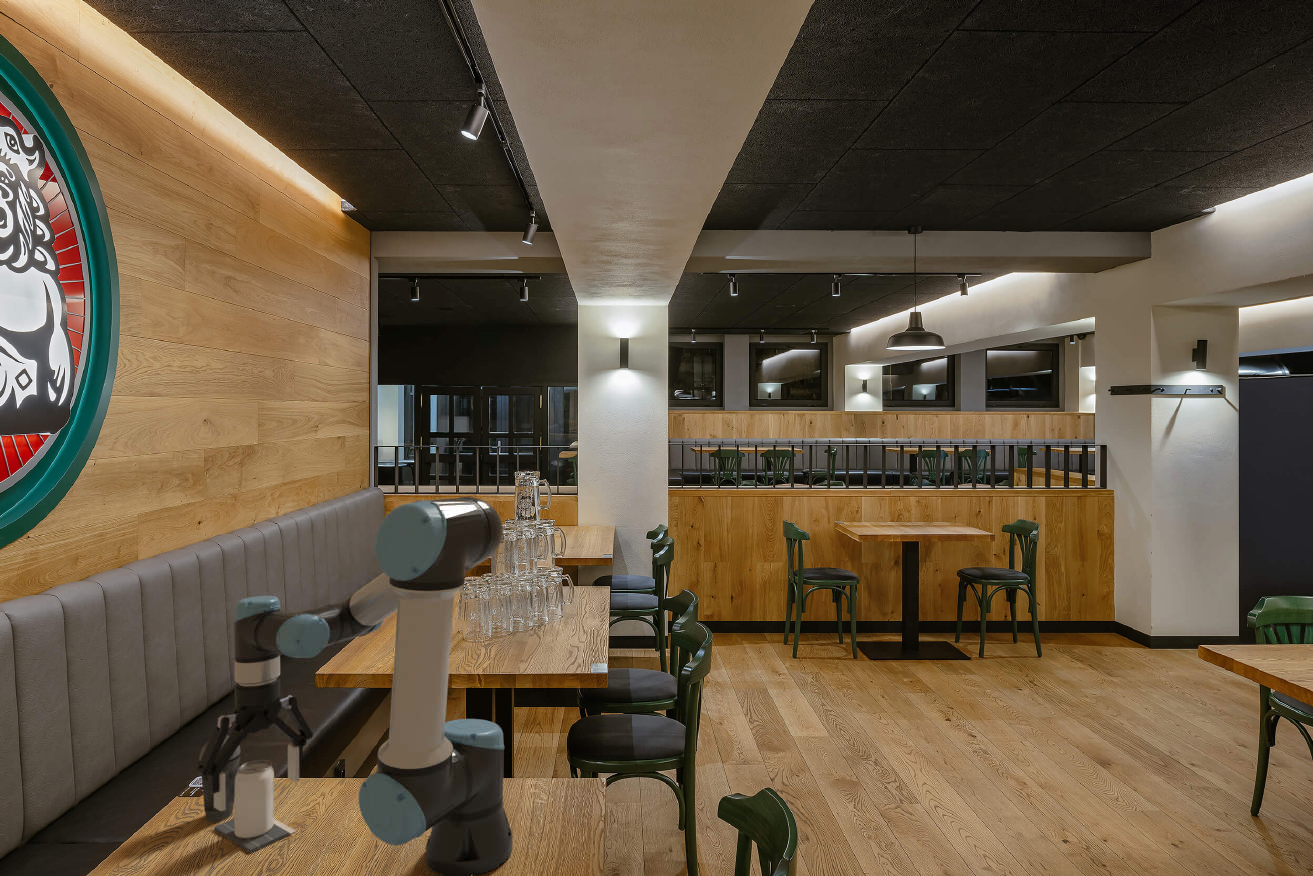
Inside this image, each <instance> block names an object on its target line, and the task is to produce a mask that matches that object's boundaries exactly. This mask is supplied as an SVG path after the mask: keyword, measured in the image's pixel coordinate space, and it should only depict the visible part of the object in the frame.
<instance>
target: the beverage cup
mask: <svg viewBox="0 0 1313 876" xmlns="http://www.w3.org/2000/svg"><path fill="white" fill-rule="evenodd" d="M229 737H230V735H228V734H227V735H226V737H225V740H224V742H223V744H222V746H221V748H222V747H223V745H224V744H225V742H226V741H227V740H228V738H229ZM209 741H210V739H209V740H208V741H206V743H205V744H204V745H203V747H202V748H201V750H200V753H199V757H198V762H197V763H198V764H199V763H200V760H201V758H202V756H203V754H204V752H205V749H206V747H207V745H208V743H209ZM220 750H221V749H220ZM241 756H242V751H241V747H240V745H239V746H238V748H237V749H236V750H235V752H234V753H233V755H232V756H231V758H230V759H229V761H228V762H227V764H226V765H225V767H224V768H223V770H222V772H224V773H225V797H226V810H224V811H219V810H218V809H216V808H214V794H213V793H211V792H210V791H209V775H207V776H204V775H202V774H200V775H201V782H202V783H201V784H202V796H203V805H204V812H205V813H204V814H205V820H206V821H207V822H209V823H210V822H211V823H213V822H214V823H215V822H221V821H224V820H226V819H229V818H230V817H232V816H233V813H234V812H233V811H234V807H235V777H236V775H237V773H238V768H239V764H240V760H241Z"/></svg>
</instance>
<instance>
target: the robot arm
mask: <svg viewBox="0 0 1313 876" xmlns="http://www.w3.org/2000/svg"><path fill="white" fill-rule="evenodd" d="M503 529H504V527H503V522H502V520H501V517H500V514H499V513H498V511H497V510H496V509H495V507H494V506H493V505H492V504H491V503H488V502H487V501H486V500H483V499H481V498H478V497H474V496H462V497H454V498H453V497H452V498H441V499H439V498H438V499H430V500H429V499H428V500H427V499H426V500H423V499H421V500H417V501H413V502H410V503H404V504H401V505H399V506H396V507H394V508H393V509H392V510H391V511H390V512H389V513H388V514H386V516H385V517H384V518H383V520H382V521H381V523H380V525H379V527H378V529H377V532H376V535H375V536H376V537H375V545H374V551H375V556H376V557H375V558H376V560H377V562H380V563H379V568H380V569H381V570H382V573H381V574H379V575H378V576H377V577H375V578H374V579H373V580H371V581H369V582H368V583H367V584H365V585H364V586H362V587H361V588H359V589H358V590H357V591H356V592H354V593H353V594H351V595H349V596H348V597H347V598H346V599H344V600H342V601H338V602H334V603H330V604H325V605H322V606H318V607H314V608H310V609H305V610H304V609H303V610H300V611H296V612H295V611H294V612H291V611H283V610H281V609H282V607H281V602H280V599H279V598H278V597H277V596H275V595H259V596H251V597H246V598H242V599H241V600H239V601H237V602H236V604H235V607H234V608H235V609H234V620H233V622H232V623H233V628H234V629H233V631H234V633H233V635H234V636H233V638H234V682H236V684H235V685H234V706H235V707H234V708H235V710H234V712H233V714H228V715H227V714H226V715H223V714H219V715H217V716H216V718H215V724H214V725H215V727H214V729H213V732H212V734H211V737H210V738H209V740H210V741H209V740H208V741H209V743H208V745H207V747H206V749H205V752H204V754H203V756H202V758H201V760H200V763H198V765H197V766H196V767H197V768H196V773H198V774H200V775H201V774H202V775H204V776H207V775H209V791H210V792H211V793H213V794H214V808H216V809H218V810H219V811H224V810H226V797H225V773H224V772H222V770H223V768H224V767H225V765H226V764H227V762H228V761H229V759H230V758H231V756H232V755H233V753H234V752H235V750H236V749H237V748H238V746H240V744H241V743H242V741H243V740H245V739H246V738H247V737H248V735H249V734H255V733H257V732H258V731H259V732H260V731H261V730H268V729H270V726H273V727H274V728H275V729H276V730H277V731H279V732H280V733H281V734H282V735H284V736H285V737H286V738H287V739H288V740H289V741H290V742H292V743H290V744H287V778H288V779H289V780H290V781H293V782H298V781H300V762H301V761H303V759H304V746H306V744H307V740H311V739H312V738H313V737H314V734H313V732H312V730H311V729H310V727H309V725H308V723H307V721H306V720H305V717H304V716H303V714H302V713H301V710H300V709H299V706H298V701H297V700H298V699H297V697H296V696H293V695H291V694H286V695H284V697H283V698H281V699H280V697H281V679H280V678H279V676H280V675H281V655H282V656H286V657H290V658H294V659H301V658H302V659H310V658H314V657H316V656H318V655H319V654H320V653H321V652H322V651H323V650H324V649H325V648H326V647H329V646H331V645H335V644H338V643H341V642H344V641H348V640H351V639H355V638H359V637H361V638H362V637H364V636H366V635H369V634H371V633H373V632H374V633H375V631H377V630H379V629H380V627H381V626H382V623H383V622H384V620H385V619H386V618H389V616H391V615H393V614H395V613H396V612H397V613H396V628H395V629H396V630H395V643H394V657H393V658H394V661H393V674H392V688H391V703H390V704H391V705H390V721H389V733H388V739H387V740H386V741H385V742H384V743H382V745H380V747H379V749H378V751H377V763H376V771H375V773H371V774H370V775H369V776H368V777H367V778H366V779H365V780H364V781H362V783H361V785H360V787H359V790H358V791H359V792H358V806H359V810H360V813H361V817H362V819H363V821H364V823H365V824H366V826H367V827H368V829H369V831H370V832H371V833H372V834H373V835H374V836H375V837H376V838H377V839H378V840H379V841H381V842H383V843H385V844H387V845H391V846H401V845H405V844H408V843H409V842H410V841H412V840H414V839H416V838H420V837H421V836H422V835H423V834H425V832H427V831H428V830H430V829H431V832H430V835H429V836H428V839H427V841H426V845H425V863H426V865H427V867H428V868H429V869H430V870H431V871H432V872H434V873H436V874H438V875H441V876H471V875H476V876H478V875H477V874H480V875H483V874H485V872H486V873H488V871H489V872H491V871H493V870H494V869H497V868H498V867H500V866H501V865H502V864H501V863H503V862H504V861H505V862H506V861H507V860H508V859H509V858H510V856H511V855H510V854H512V852H513V833H512V830H511V827H510V824H509V820H508V816H507V814H506V810H505V808H504V762H505V761H504V754H505V752H504V750H505V745H504V733H503V730H502V727H500V725H498V724H497V723H495V722H493V721H489V720H485V719H477V718H462V719H461V718H460V719H453V720H449V721H446V718H447V717H446V716H447V701H448V686H449V672H450V657H451V645H452V632H453V631H452V628H453V613H454V600H455V595H456V594H457V593H458V592H459V591H460V590H461V589H462V588H463V587H464V586H465V580H466V579H465V578H466V572H468V571H470V570H472V569H473V568H476V566H478V565H479V564H481V563H483V562H484V561H486V560H488V559H489V558H491V557H492V555H494V554H495V553H496V551H497V550H498V548H499V547H500V544H501V543H502V539H503V536H504V535H503V533H504V530H503ZM282 708H283V709H284V710H285V711H286V712H287V715H289V718H290V719H291V722H292V723H293V724H294V727H295V728H296V730H297V731H298V733H299V734H298V733H297V732H295V730H293V729H292V728H291V727H290V726H289V725H287V723H285V721H284V720H283V719H282V718H280V716H278V714H279V712H280V711H281V710H282ZM234 722H235V723H236V724H235V726H234V727H233V728H232V729H231V732H230V735H229V736H230V737H229V738H228V740H227V741H226V742H225V744H224V745H223V747H222V748H221V746H222V744H223V742H224V740H225V737H226V735H228V732H229V728H231V727H232V724H233V723H234ZM220 749H221V750H220ZM202 775H201V776H202ZM506 859H507V860H506ZM505 862H504V863H505ZM504 863H503V864H504ZM500 864H501V865H500ZM499 865H500V866H499ZM496 867H497V868H496ZM492 869H493V870H492ZM490 870H491V871H490ZM482 873H483V874H482Z"/></svg>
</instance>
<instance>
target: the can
mask: <svg viewBox="0 0 1313 876" xmlns="http://www.w3.org/2000/svg"><path fill="white" fill-rule="evenodd" d="M233 811H234V812H233V813H234V815H233V816H234V817H233V819H234V832H235V835H236V836H237V837H239V838H242V839H250V838H255V837H259V836H261V835H264V834H266V833H267V832H268V831H269V830H270V829H271V828H272V827H273V824H274V819H275V817H274V816H275V770H274V768H273V766H272V762H271V761H270V760H267V759H266V760H265V759H257V760H252V761H249V762H248V761H247V762H246V763H243V764H242V765H240V766H238V769H237V775H236V777H235V798H234V810H233Z"/></svg>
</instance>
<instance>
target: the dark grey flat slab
mask: <svg viewBox="0 0 1313 876" xmlns="http://www.w3.org/2000/svg"><path fill="white" fill-rule="evenodd" d="M214 831H215V832H217V833H219V834H220V835H221V836H223V837H225V838H226V839H228V840H229V841H231V842H232V843H234V844H235V845H237V846H239V847H240V848H241V849H243V850H245V851H246V852H248V853H250V854H253V853H254V852H257V851H259V850H260V849H263V848H265V847H267V846H270V845H273V844H274V843H276V842H279V841H281V840H283V839H285V838H287V837H289V836H291V835H294V834H296V833H297V830H294V829H293V828H291V827H290V826H288V825H286V824H285V823H283V822H281V821H279V820H278V819H276V818H274V824H273V827H272V828H271V829H270V830H269V831H268V832H267V833H266V834H264V835H261V836H259V837H255V838H250V839H242V838H239V837H237V836H236V835H235V832H234V818H232V819H230V820H228V821H224V822H223V823H221V824H218V825H215V826H214Z"/></svg>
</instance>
